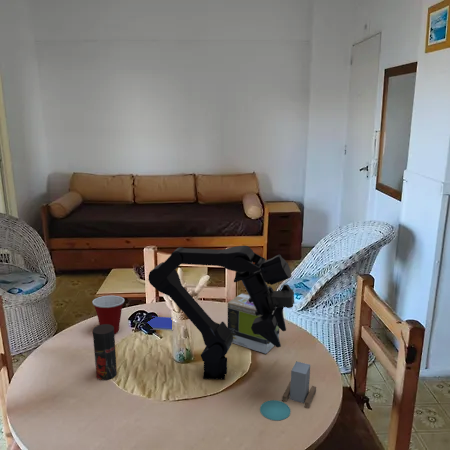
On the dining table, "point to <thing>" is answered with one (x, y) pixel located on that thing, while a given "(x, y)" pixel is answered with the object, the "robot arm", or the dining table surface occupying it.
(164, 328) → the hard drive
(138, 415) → the dining table surface
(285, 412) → the pad
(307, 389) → the grey block
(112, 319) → the plastic cup
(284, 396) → the pair of brown bars
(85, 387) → the dining table surface
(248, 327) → the tea box
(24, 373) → the dining table surface
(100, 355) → the deodorant
